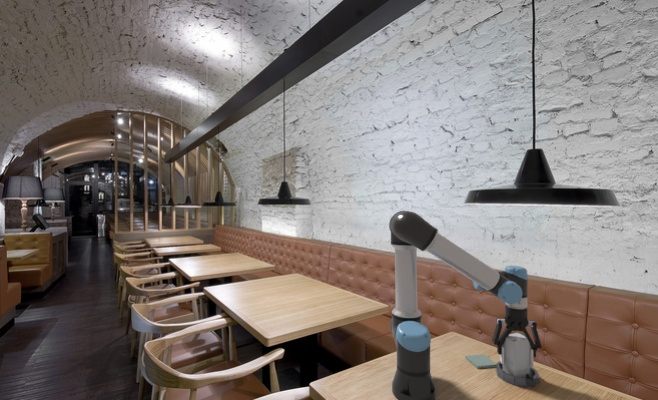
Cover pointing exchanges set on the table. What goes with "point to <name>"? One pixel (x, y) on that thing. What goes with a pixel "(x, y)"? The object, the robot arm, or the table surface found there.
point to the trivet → (480, 361)
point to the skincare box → (516, 355)
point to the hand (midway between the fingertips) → (516, 363)
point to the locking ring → (530, 381)
